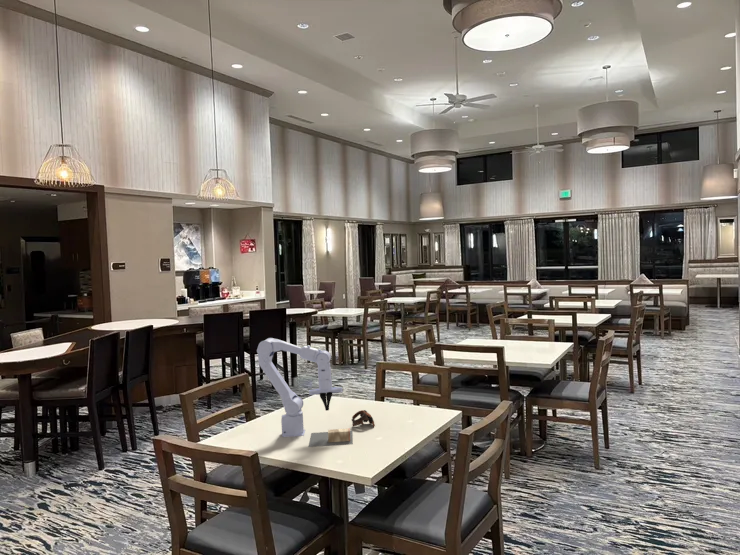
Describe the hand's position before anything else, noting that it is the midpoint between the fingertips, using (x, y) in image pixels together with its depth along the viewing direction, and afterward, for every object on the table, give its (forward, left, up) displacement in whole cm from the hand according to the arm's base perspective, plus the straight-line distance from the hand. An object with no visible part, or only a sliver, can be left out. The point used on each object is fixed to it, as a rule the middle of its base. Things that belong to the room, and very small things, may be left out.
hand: (327, 409), depth 234 cm
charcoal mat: (+1, -8, -10) cm, 13 cm away
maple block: (0, -11, -8) cm, 14 cm away
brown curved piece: (+16, +8, -11) cm, 21 cm away
